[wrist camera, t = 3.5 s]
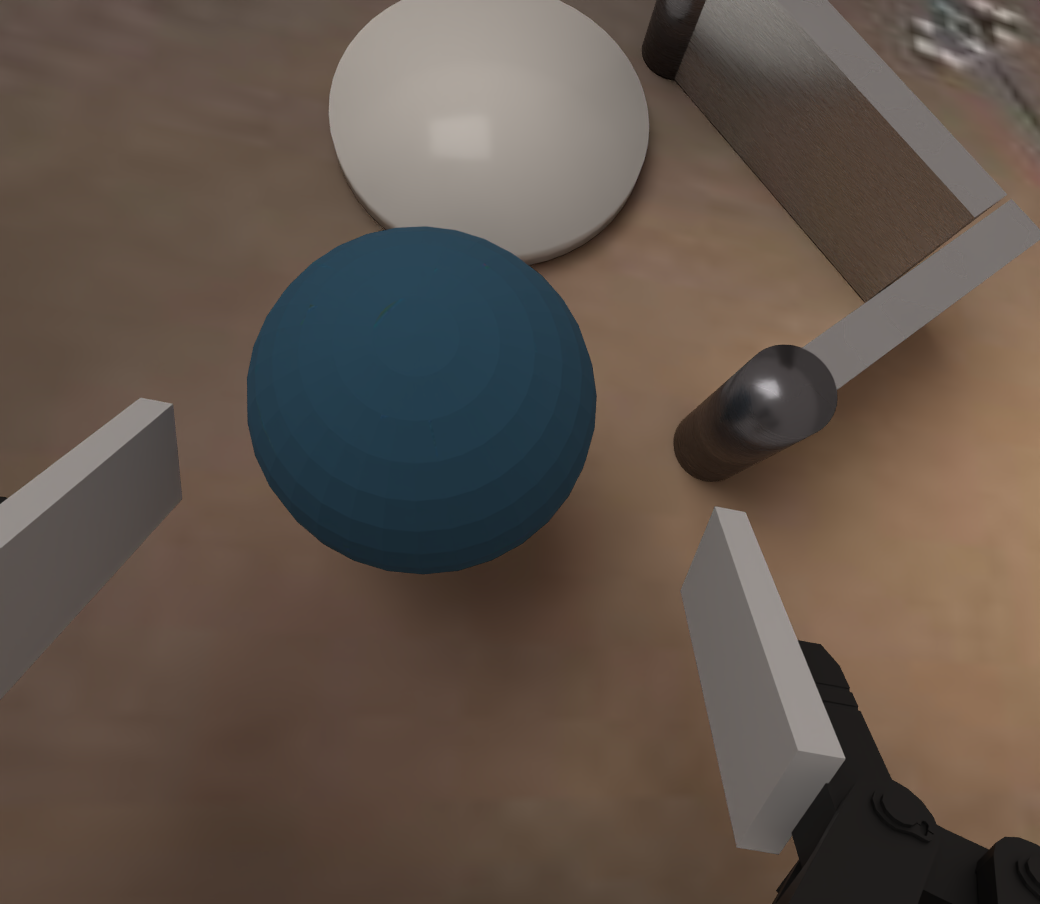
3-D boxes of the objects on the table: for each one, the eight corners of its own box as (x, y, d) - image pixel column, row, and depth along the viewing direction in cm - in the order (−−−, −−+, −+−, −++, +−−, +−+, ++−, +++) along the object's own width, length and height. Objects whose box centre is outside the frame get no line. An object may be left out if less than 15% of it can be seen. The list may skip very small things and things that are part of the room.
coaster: (273, 84, 27) (266, 64, 26) (526, -39, 30) (528, -61, 29) (449, 326, 25) (448, 314, 24) (703, 171, 28) (711, 155, 27)
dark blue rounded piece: (575, 561, 24) (684, 509, 12) (338, 610, 22) (206, 605, 11) (526, 346, 25) (581, 120, 14) (306, 382, 24) (163, 169, 13)
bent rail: (438, 147, 27) (430, 9, 21) (677, 18, 30) (733, -138, 24) (704, 496, 25) (786, 455, 18) (940, 320, 27) (1081, 233, 21)
